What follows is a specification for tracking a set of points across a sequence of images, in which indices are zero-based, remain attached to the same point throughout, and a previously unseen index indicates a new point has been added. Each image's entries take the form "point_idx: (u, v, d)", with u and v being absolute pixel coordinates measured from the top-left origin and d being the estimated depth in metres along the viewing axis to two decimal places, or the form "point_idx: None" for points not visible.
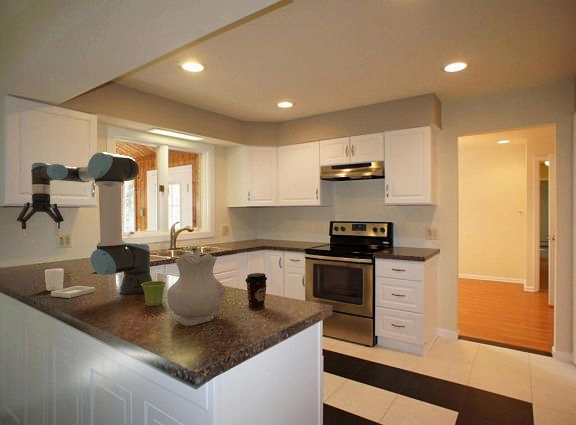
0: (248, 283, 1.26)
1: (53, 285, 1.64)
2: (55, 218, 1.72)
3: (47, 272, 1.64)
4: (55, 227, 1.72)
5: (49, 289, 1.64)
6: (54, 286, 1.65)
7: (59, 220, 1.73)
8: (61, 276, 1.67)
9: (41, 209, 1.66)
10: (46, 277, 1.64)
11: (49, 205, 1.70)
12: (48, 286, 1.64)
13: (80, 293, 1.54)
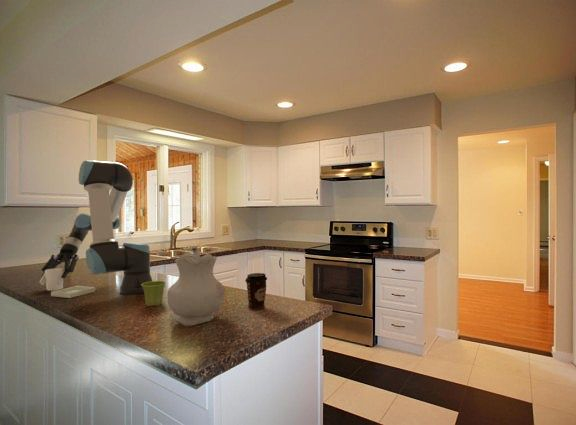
0: (248, 283, 1.26)
1: (53, 285, 1.64)
2: (65, 266, 1.70)
3: (47, 272, 1.64)
4: None
5: (49, 289, 1.64)
6: (54, 286, 1.65)
7: (66, 269, 1.68)
8: None
9: (61, 258, 1.74)
10: (46, 277, 1.64)
11: (70, 254, 1.75)
12: (48, 286, 1.64)
13: (80, 293, 1.54)
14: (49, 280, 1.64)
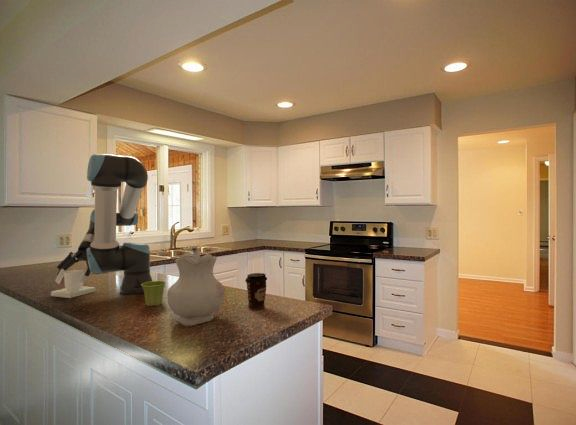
0: (248, 283, 1.26)
1: (73, 288, 1.54)
2: (87, 264, 1.60)
3: (66, 275, 1.53)
4: None
5: (69, 292, 1.54)
6: (74, 289, 1.54)
7: (89, 266, 1.59)
8: None
9: (80, 256, 1.63)
10: (65, 279, 1.54)
11: None
12: (67, 289, 1.54)
13: (80, 293, 1.54)
14: (69, 283, 1.53)
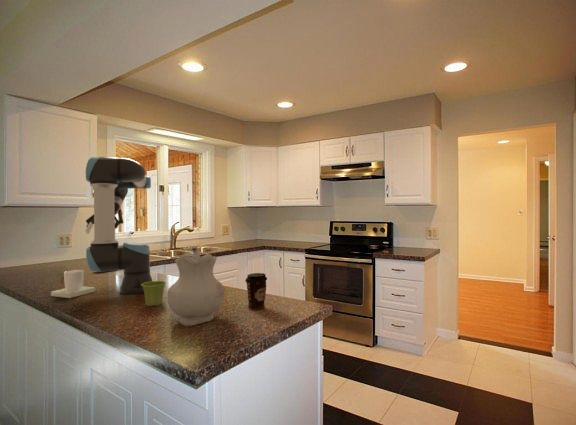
0: (248, 283, 1.26)
1: (73, 288, 1.54)
2: (114, 219, 1.86)
3: (66, 275, 1.53)
4: None
5: (68, 292, 1.54)
6: (74, 289, 1.54)
7: (117, 220, 1.85)
8: (81, 278, 1.57)
9: None
10: (65, 279, 1.54)
11: None
12: (67, 289, 1.54)
13: (80, 293, 1.54)
14: (69, 283, 1.53)
